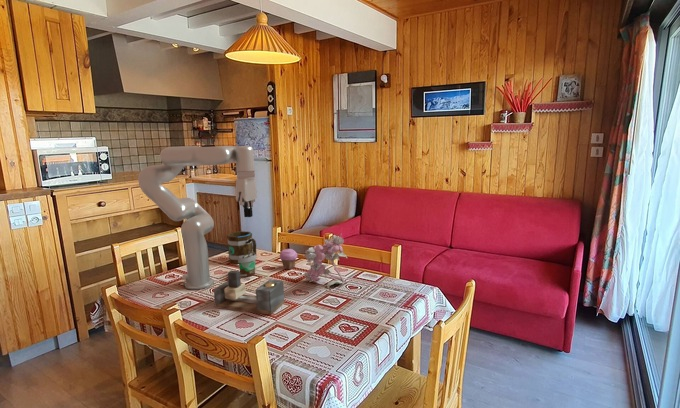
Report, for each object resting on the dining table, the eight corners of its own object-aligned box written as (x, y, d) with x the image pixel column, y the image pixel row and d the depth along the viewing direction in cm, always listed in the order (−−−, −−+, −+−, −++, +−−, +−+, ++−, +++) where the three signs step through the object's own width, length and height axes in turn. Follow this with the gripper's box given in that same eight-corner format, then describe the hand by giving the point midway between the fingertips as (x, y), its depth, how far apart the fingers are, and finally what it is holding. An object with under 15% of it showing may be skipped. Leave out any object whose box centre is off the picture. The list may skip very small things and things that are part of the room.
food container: (251, 279, 182) (249, 259, 180) (239, 278, 183) (237, 258, 182) (261, 270, 194) (260, 251, 192) (250, 270, 195) (248, 251, 194)
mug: (223, 261, 210) (221, 235, 207) (243, 255, 220) (241, 230, 218) (246, 268, 198) (244, 240, 195) (266, 261, 208) (264, 234, 206)
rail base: (215, 307, 153) (213, 284, 151) (231, 296, 163) (229, 274, 161) (271, 314, 145) (270, 291, 143) (284, 302, 155) (283, 280, 154)
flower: (339, 267, 191) (317, 226, 184) (366, 276, 172) (342, 230, 165) (309, 293, 183) (283, 250, 175) (333, 305, 164) (306, 258, 156)
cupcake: (291, 271, 192) (290, 252, 190) (277, 269, 195) (276, 250, 194) (300, 266, 199) (300, 247, 198) (286, 264, 203) (285, 245, 201)
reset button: (264, 298, 149) (263, 285, 148) (268, 295, 152) (268, 282, 151) (272, 299, 148) (271, 286, 147) (276, 296, 151) (276, 282, 150)
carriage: (225, 298, 153) (223, 274, 151) (235, 291, 159) (233, 268, 158) (235, 299, 151) (234, 275, 150) (245, 292, 158) (244, 269, 156)
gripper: (247, 173, 173) (250, 213, 176) (228, 176, 159) (231, 219, 162) (262, 173, 171) (264, 213, 174) (243, 176, 157) (246, 220, 160)
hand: (248, 216), depth 168 cm, fingers closed
